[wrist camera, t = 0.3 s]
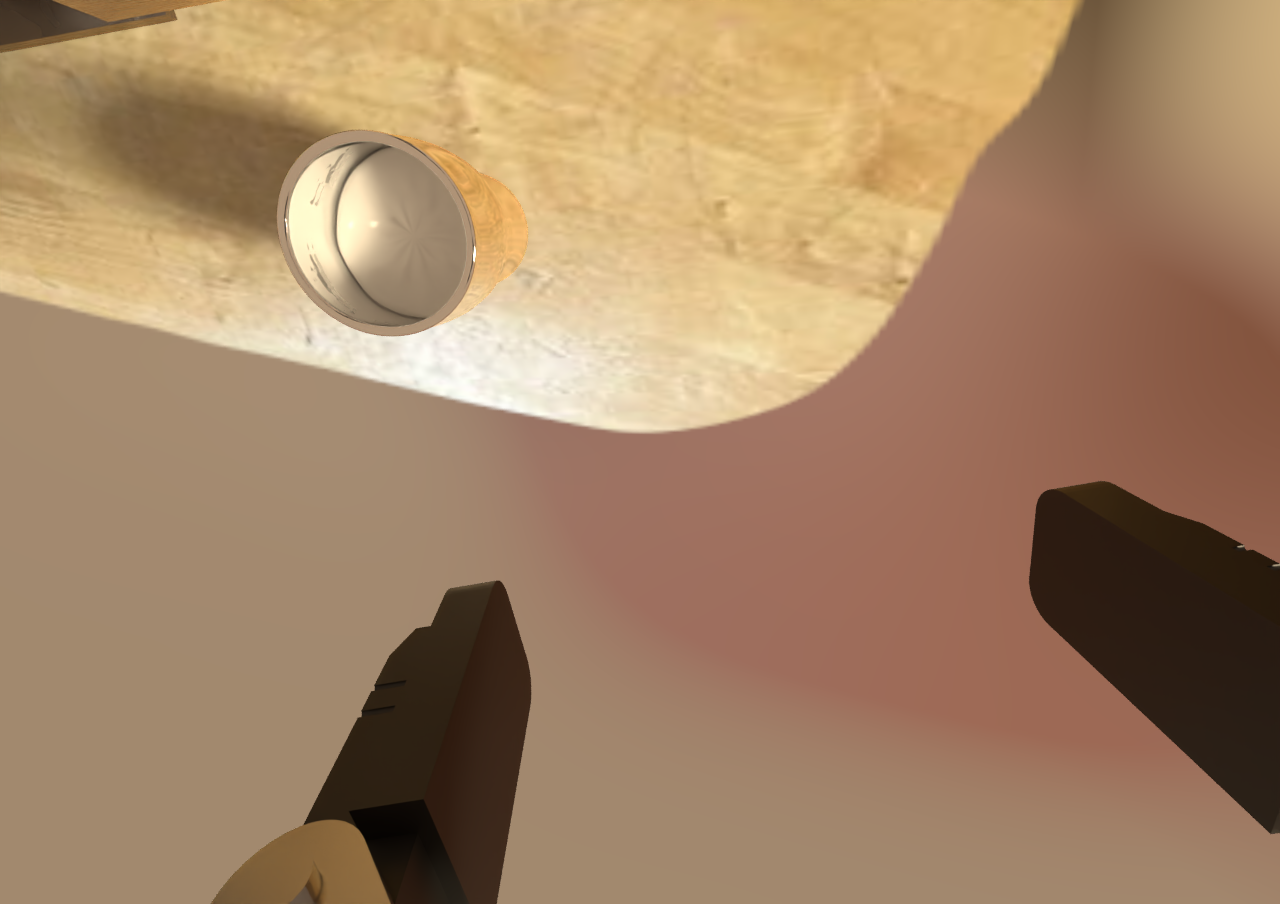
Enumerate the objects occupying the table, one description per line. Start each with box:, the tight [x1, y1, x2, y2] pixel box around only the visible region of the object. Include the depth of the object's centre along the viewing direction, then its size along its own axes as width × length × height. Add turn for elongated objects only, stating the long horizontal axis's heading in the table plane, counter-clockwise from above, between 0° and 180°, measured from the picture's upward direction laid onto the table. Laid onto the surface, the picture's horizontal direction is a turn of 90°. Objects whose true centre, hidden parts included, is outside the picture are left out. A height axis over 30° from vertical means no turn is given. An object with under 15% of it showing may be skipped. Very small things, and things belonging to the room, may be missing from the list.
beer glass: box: [277, 130, 528, 336], centre depth 27 cm, size 7×7×15 cm
